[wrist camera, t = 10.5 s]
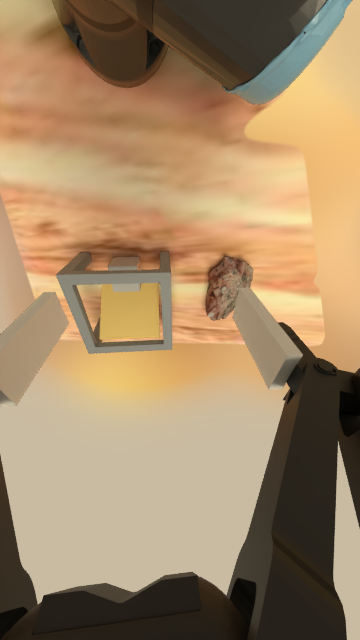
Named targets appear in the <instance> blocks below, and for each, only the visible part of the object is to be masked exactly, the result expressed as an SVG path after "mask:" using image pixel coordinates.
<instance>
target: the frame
mask: <svg viewBox="0 0 360 640" xmlns="http://www.w3.org/2000/svg"><path fill="white" fill-rule="evenodd" d="M91 262H92V258H91V254H90V252H81V253H79V254H78V255H77V256H76V257H75V258H74V259H73V260H72V261H71V262H69V263H68V264H67V265H66V266H65V267H64V268H63V269H62V270H61V271H60V272H58V273H57V274H56V276H57V279H58V281H59V284H60V286H61V288H62V291H63V293H64V295H65V298H66V300H67V303H68V305H69V307H70V310H71V312H72V315H73V317H74V319H75V322H76V324H77V327H78V329H79V331H80V334H81V336H82V338H83V341H84V343H85V345H86V348H87V350H88V353H89V354H91V353H111V352H132V351H153V350H171V349H172V307H171V269H170V258H169V251H160V270H109V271H84V270H85V269H86V268H87V266H88V265H89V264H90V263H91ZM136 283H160V285H161V303H162V320H163V338H164V340H148V341H126V342H104V343H101V342H102V340H100V339H99V338H100V318H99V321H98V323H97V325H96V327H95V330H94V332H93V330H92V328H91V325H90V322H89V319H88V317H87V314H86V311H85V308H84V305H83V303H82V300H81V297H80V294H79V292H78V289H77V286H76V285H94V284H136Z"/></svg>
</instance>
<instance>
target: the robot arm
mask: <svg viewBox="0 0 360 640" xmlns="http://www.w3.org/2000/svg"><path fill="white" fill-rule="evenodd" d="M52 1H53V4H54V7H55V9H56V12H57V14H58V17H59V19H60V21H61V24H62V26H63V28H64V30H65V32H66V34H67V35H68V37H69V39H70V41H71V42H72V44H73V45H74V47H75V49H76V50H77V52H78V53H79V55H80V56H81V57H82V59H83V60H84V61H85V63H86V64H87V65H88V66H89V67H90V69H91V70H92V71H93V72H94V73H96V74H97V75H98V76H99V77H100V78H102V79H103V80H105V81H106V82H108V83H110V84H112V85H115V86H118V87H124V88H130V87H135V86H138V85H141V84H143V83H144V82H146V81H147V80H148V79H150V78H151V77H152V76H153V74H154V73H155V72H156V71H157V69H158V68H159V66H160V65H161V63H162V61H163V59H164V57H165V54H166V52H167V49H168V46H170V47H171V48H173V49H174V50H175V51H177V52H178V53H179V54H181V55H182V56H184V57H185V58H186V59H188V60H189V61H190V62H192V63H193V64H194V65H196V66H197V67H199V68H200V69H201V70H203V71H204V72H205V73H207V74H208V75H210V76H211V77H212V78H214V79H215V80H216V81H218V82H219V83H220V84H222V87H223V89H224V90H225V91H226V92H227V93H231V94H236V95H238V96H239V97H241V98H242V99H244V100H245V101H247V102H249V103H250V104H253V105H254V104H258V105H260V104H265V103H267V102H269V101H271V100H272V99H274V98H275V97H277V96H278V95H279V94H281V93H282V92H283V91H284V90H285V89H286V88H287V87H288V86H289V85H290V84H291V83H292V82H293V81H294V80H295V79H296V78H297V77H298V76H299V75H300V74H301V73H302V72H303V70H304V69H305V68H306V67H307V66H308V65H309V63H310V62H311V61H312V60H313V59H314V57H315V56H316V55H317V54H318V52H319V51H320V50H321V49H322V47H323V46H324V45H325V43H326V42H327V41H328V39H329V38H330V37H331V35H332V34H333V32H334V31H335V30H336V28H337V27H338V25H339V24H340V22H341V21H342V19H343V18H344V13H345V10H346V8H347V6H348V5H349V4H350V3H351V1H352V0H52ZM233 319H234V321H235V323H236V325H237V327H238V329H239V331H240V333H241V335H242V337H243V339H244V341H245V343H246V345H247V347H248V349H249V351H250V353H251V355H252V357H253V359H254V361H255V363H256V365H257V367H258V369H259V371H260V373H261V375H262V377H263V379H264V381H265V383H266V385H267V387H268V389H282V388H283V387H284V385H285V383H286V382H287V384H288V386H289V387H290V389H289V391H288V393H287V394H286V395H285V397H284V398H283V400H285V404H284V408H283V411H282V415H281V418H280V422H279V425H278V429H277V432H276V436H275V439H274V443H273V446H272V450H271V453H270V457H269V461H268V464H267V468H266V471H265V475H264V478H263V482H262V485H261V489H260V493H259V496H258V500H257V503H256V507H255V510H254V514H253V518H252V521H251V524H250V528H249V532H248V535H247V538H246V540H245V542H244V544H243V546H242V549H241V551H240V553H239V556H238V559H237V562H236V565H235V569H234V572H233V575H232V579H231V582H230V586H229V589H228V593H227V596H226V595H225V594H224V593H223V592H222V591H221V590H220V589H218V588H217V587H216V586H215V585H213V584H212V583H210V582H209V581H207V580H205V579H203V578H202V577H199V576H197V575H196V574H195V573H193V572H187V573H179V574H172V575H165V576H163V577H161V578H160V579H158V580H156V581H154V582H153V583H151V584H149V585H148V586H146V587H144V588H142V589H141V590H139V591H137V592H130V591H127V590H124V589H121V588H119V587H116V586H113V585H110V584H107V583H103V584H95V585H87V586H79V587H74V588H70V589H67V590H63V591H59V592H55V593H51V594H47V595H44V596H43V599H42V602H41V603H40V604H37V599H36V594H35V590H34V586H33V583H32V580H31V578H30V576H29V574H28V573H27V572H26V571H25V570H24V569H23V567H22V565H21V562H20V558H19V552H18V547H17V542H16V536H15V531H14V526H13V520H12V515H11V510H10V505H9V499H8V494H7V488H6V483H5V478H4V472H3V467H2V462H1V456H0V640H347V636H346V621H345V615H344V610H343V606H342V603H341V601H340V599H339V597H338V594H337V592H336V590H335V587H334V582H333V559H334V533H335V507H336V480H337V453H338V442H339V446H340V450H341V454H342V458H343V462H344V466H345V470H346V474H347V478H348V482H349V487H350V490H351V495H352V499H353V503H354V507H355V511H356V515H357V519H358V523H359V527H360V368H359V369H358V370H357V371H356V373H351V372H347V371H341V370H338V369H337V368H336V367H335V366H334V365H333V364H332V363H330V362H328V361H326V360H324V359H320V358H316V357H315V355H313V353H312V352H311V351H310V350H309V348H308V347H307V346H306V345H305V344H304V343H303V341H302V340H300V338H299V337H298V336H297V335H296V333H295V332H294V331H293V330H292V329H291V327H289V326H288V325H286V324H285V323H283V322H280V323H277V321H276V320H275V319H274V318H273V316H272V315H271V314H270V313H269V311H268V310H267V309H266V308H265V306H264V305H263V304H262V303H261V301H260V300H259V299H258V298H257V296H256V295H255V294H254V293H253V291H252V290H251V289H250V288H239V292H238V296H237V301H236V305H235V309H234V314H233ZM68 324H69V322H68V320H67V317H66V315H65V313H64V311H63V308H62V306H61V304H60V302H59V299H58V297H57V295H56V293H55V292H44V293H43V294H42V295H41V296H40V297H38V298H37V299H36V300H35V301H34V302H33V303H32V304H31V305H30V306H29V307H28V308H27V309H26V310H25V311H24V312H23V313H22V314H21V315H20V316H19V317H18V318H17V319H16V320H15V321H14V322H13V323H12V324H11V325H10V326H9V327H8V328H6V329H5V331H3V332H2V333H1V334H0V407H2V406H16V405H17V404H18V403H19V401H20V399H21V398H22V396H23V395H24V393H25V392H26V390H27V388H28V387H29V385H30V384H31V382H32V381H33V379H34V377H35V376H36V374H37V373H38V371H39V370H40V368H41V366H42V365H43V363H44V362H45V360H46V359H47V357H48V356H49V354H50V352H51V351H52V349H53V347H54V346H55V345H56V343H57V342H58V340H59V338H60V337H61V335H62V334H63V332H64V331H65V329H66V327H67V326H68Z"/></svg>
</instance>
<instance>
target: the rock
mask: <svg viewBox="0 0 360 640" xmlns="http://www.w3.org/2000/svg"><path fill="white" fill-rule="evenodd" d="M252 279H253V268H252V267H251V266H249V264H246V263H245V262H241V263H239V261H238V259H235V258H232V259H230V258H229V257H224V259H223V262H221V264H220V265H219V266H218V267H217V268H214V269H213V270H212V271H211V272H210V274H209V282H210V284H211V286H210V288H209V290H208V292H207V298H206V306H207V308H206V313H207V315H208V316H209V317H210V318H211V320H213V321H214V320H219V319H220V318H222V319H225V318H226V317H227V316H228V315H229V314H230V313H231V312H232V311H233V310H234V308H235V305H236V301H237V296H238V292H239V288H250V285H251V281H252Z"/></svg>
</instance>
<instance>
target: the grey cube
mask: <svg viewBox="0 0 360 640" xmlns="http://www.w3.org/2000/svg"><path fill="white" fill-rule="evenodd" d="M108 270H141V265H140V257H113V259H112V260H111V262H110V264H109V265H108ZM141 284H142V283H136V284H112V287H113V292H135V291H140V290H141Z"/></svg>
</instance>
